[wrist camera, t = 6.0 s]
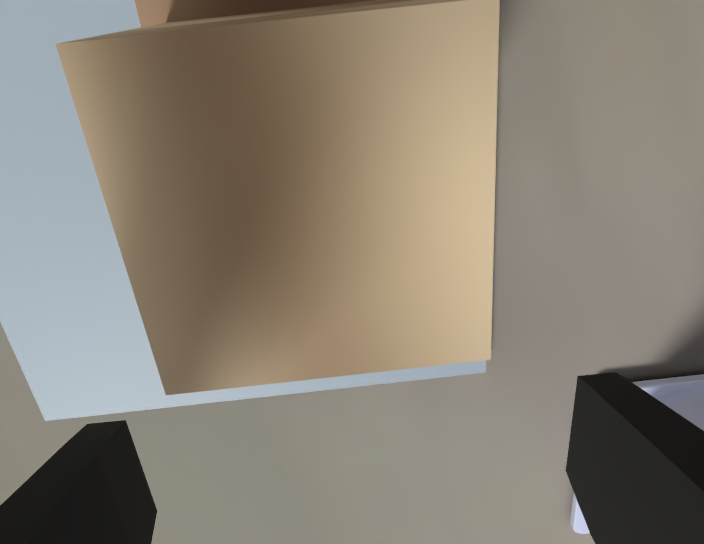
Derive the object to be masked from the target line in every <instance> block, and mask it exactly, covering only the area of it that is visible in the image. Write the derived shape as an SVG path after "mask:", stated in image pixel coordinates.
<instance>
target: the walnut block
mask: <svg viewBox="0 0 704 544" xmlns="http://www.w3.org/2000/svg"><path fill="white" fill-rule="evenodd" d="M365 1H375V0H135V4H136V8H137V12H138V16H139V20H140V24H141V27H146V26H151V25H156V24H162V23H168V22H177V21H186V20H196V19H205V18H215V17H224V16H233V15H243V14H252V13H262V12H271V11H281V10H290V9H299V8H309V7H318V6H328V5H337V4H346V3H356V2H365Z"/></svg>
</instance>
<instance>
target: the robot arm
mask: <svg viewBox="0 0 704 544" xmlns="http://www.w3.org/2000/svg"><path fill="white" fill-rule="evenodd" d="M566 472H567V475H568V477H569V480H570V483H571V485H572V488H573V491H574V495H573V503H572V511H571V519H570V523H571V526H572V528H573V530H574V531H575V532H576V533H579V534H587V533H590V534H591V536H592V538H593V540H594V542H595V544H704V374H701V375H692V376H683V377H674V378H664V379H655V380H646V381H637V382H630V381H629V380H627V379H626V378H624V377H622V376H621V375H619V374H618V373H616V372H615V373H605V374H595V375H585V376H578V378H577V386H576V394H575V402H574V410H573V418H572V426H571V434H570V442H569V450H568V458H567V466H566ZM156 514H157V509H156V506H155V503H154V501H153V498H152V495H151V492H150V489H149V486H148V483H147V480H146V478H145V475H144V472H143V469H142V466H141V463H140V460H139V457H138V455H137V452H136V449H135V446H134V443H133V440H132V437H131V434H130V432H129V429H128V426H127V423H126V420H124V421H114V422H103V423H93V424H87V425H86V426H85V427H83V428H82V429H81V430H80V431H79V432H78V433H77V434H75V435H74V436H73V437H72V438H71V439H70V440H69V441H68V442H67V443H66V444H65V445H64V446H63V447H61V448H60V449H59V450H58V451H57V452H56V453H55V454H54V455H53V456H52V457H51V458H50V459H49V460H48V461H47V462H46V463H45V464H44V465H43V466H41V467H40V468H39V469H38V470H37V471H36V472H35V473H34V474H33V475H32V476H31V477H30V478H29V479H28V480H27V481H26V482H25V483H24V484H23V485H22V486H21V487H20V488H19V489H17V490H16V491H15V492H14V493H13V494H12V495H11V496H10V497H9V498H8V499H7V500H6V501H5V502H4V503H3V504H2V505H0V544H151V541H152V535H153V530H154V525H155V519H156Z"/></svg>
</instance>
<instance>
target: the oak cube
mask: <svg viewBox="0 0 704 544" xmlns="http://www.w3.org/2000/svg"><path fill="white" fill-rule="evenodd" d="M499 8H500V0H375V1H365V2H356V3H346V4H337V5H328V6H318V7H309V8H299V9H290V10H281V11H271V12H262V13H252V14H243V15H233V16H224V17H215V18H205V19H196V20H186V21H177V22H168V23H162V24H156V25H151V26H146V27H141V28H136V29H130V30H125V31H120V32H115V33H110V34H104V35H99V36H94V37H89V38H84V39H78V40H73V41H68V42H63V43H58V44H55V45H56V48H57V51H58V54H59V57H60V60H61V64H62V67H63V70H64V73H65V76H66V80H67V83H68V86H69V89H70V92H71V95H72V99H73V102H74V105H75V108H76V111H77V115H78V118H79V121H80V124H81V127H82V130H83V134H84V137H85V140H86V143H87V146H88V150H89V153H90V156H91V159H92V162H93V165H94V169H95V172H96V175H97V178H98V181H99V184H100V188H101V191H102V194H103V197H104V200H105V204H106V207H107V210H108V213H109V216H110V219H111V223H112V226H113V229H114V232H115V235H116V239H117V242H118V245H119V248H120V251H121V254H122V258H123V261H124V264H125V267H126V270H127V273H128V277H129V280H130V283H131V286H132V289H133V293H134V296H135V299H136V302H137V305H138V308H139V312H140V315H141V318H142V321H143V324H144V328H145V331H146V334H147V337H148V340H149V343H150V347H151V350H152V353H153V356H154V359H155V362H156V366H157V369H158V372H159V375H160V378H161V382H162V385H163V388H164V391H165V394H166V395H174V394H184V393H193V392H202V391H211V390H220V389H229V388H238V387H247V386H256V385H265V384H275V383H284V382H293V381H302V380H311V379H320V378H329V377H338V376H347V375H356V374H366V373H375V372H384V371H393V370H402V369H411V368H420V367H429V366H438V365H447V364H457V363H466V362H475V361H484V360H491V334H492V293H493V252H494V212H495V171H496V130H497V90H498V49H499Z"/></svg>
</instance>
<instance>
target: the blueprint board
mask: <svg viewBox="0 0 704 544" xmlns="http://www.w3.org/2000/svg"><path fill="white" fill-rule="evenodd" d="M136 28H141V24H140V20H139V16H138V12H137V8H136V4H135V0H0V322H1V324H2V326H3V329H4V331H5V333H6V335H7V337H8V340H9V342H10V344H11V346H12V349H13V351H14V353H15V355H16V357H17V360H18V362H19V364H20V366H21V368H22V371H23V373H24V375H25V377H26V379H27V382H28V384H29V386H30V388H31V390H32V393H33V395H34V397H35V399H36V402H37V404H38V406H39V408H40V410H41V413H42V415H43V417H44V419H45V421H49V420H58V419H67V418H76V417H85V416H95V415H104V414H113V413H122V412H131V411H140V410H149V409H158V408H167V407H176V406H185V405H195V404H204V403H213V402H222V401H231V400H240V399H249V398H258V397H267V396H276V395H285V394H295V393H304V392H313V391H322V390H331V389H340V388H349V387H358V386H367V385H376V384H385V383H395V382H404V381H413V380H422V379H431V378H440V377H449V376H458V375H467V374H476V373H485V372H486V360H484V361H475V362H466V363H457V364H447V365H438V366H429V367H420V368H411V369H402V370H393V371H384V372H375V373H366V374H356V375H347V376H338V377H329V378H320V379H311V380H302V381H293V382H284V383H275V384H265V385H256V386H247V387H238V388H229V389H220V390H211V391H202V392H193V393H184V394H174V395H166V394H165V391H164V388H163V385H162V382H161V378H160V375H159V372H158V369H157V366H156V362H155V359H154V356H153V353H152V350H151V347H150V343H149V340H148V337H147V334H146V331H145V328H144V324H143V321H142V318H141V315H140V312H139V308H138V305H137V302H136V299H135V296H134V293H133V289H132V286H131V283H130V280H129V277H128V273H127V270H126V267H125V264H124V261H123V258H122V254H121V251H120V248H119V245H118V242H117V239H116V235H115V232H114V229H113V226H112V223H111V219H110V216H109V213H108V210H107V207H106V204H105V200H104V197H103V194H102V191H101V188H100V184H99V181H98V178H97V175H96V172H95V169H94V165H93V162H92V159H91V156H90V153H89V150H88V146H87V143H86V140H85V137H84V134H83V130H82V127H81V124H80V121H79V118H78V115H77V111H76V108H75V105H74V102H73V99H72V95H71V92H70V89H69V86H68V83H67V80H66V76H65V73H64V70H63V67H62V64H61V60H60V57H59V54H58V51H57V48H56V45H55V44H58V43H63V42H68V41H73V40H78V39H84V38H89V37H94V36H99V35H104V34H110V33H115V32H120V31H125V30H130V29H136Z"/></svg>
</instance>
